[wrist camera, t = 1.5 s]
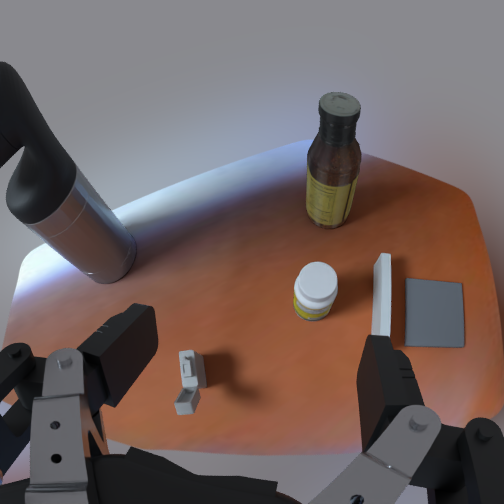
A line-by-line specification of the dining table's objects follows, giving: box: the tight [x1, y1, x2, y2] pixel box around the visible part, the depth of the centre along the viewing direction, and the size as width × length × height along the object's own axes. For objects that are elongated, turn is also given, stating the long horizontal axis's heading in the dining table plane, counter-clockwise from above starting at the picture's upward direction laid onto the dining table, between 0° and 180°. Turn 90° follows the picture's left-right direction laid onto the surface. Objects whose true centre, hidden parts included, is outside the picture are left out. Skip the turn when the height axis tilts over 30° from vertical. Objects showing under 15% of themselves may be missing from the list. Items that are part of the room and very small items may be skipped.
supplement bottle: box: [293, 262, 338, 321], centre depth 35 cm, size 5×5×8 cm
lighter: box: [174, 350, 207, 415], centre depth 32 cm, size 7×2×8 cm, turn 9°
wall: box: [371, 253, 391, 337], centre depth 35 cm, size 1×12×4 cm, turn 170°
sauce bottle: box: [306, 92, 361, 229], centre depth 35 cm, size 7×6×20 cm
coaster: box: [405, 278, 464, 348], centre depth 35 cm, size 9×9×1 cm
